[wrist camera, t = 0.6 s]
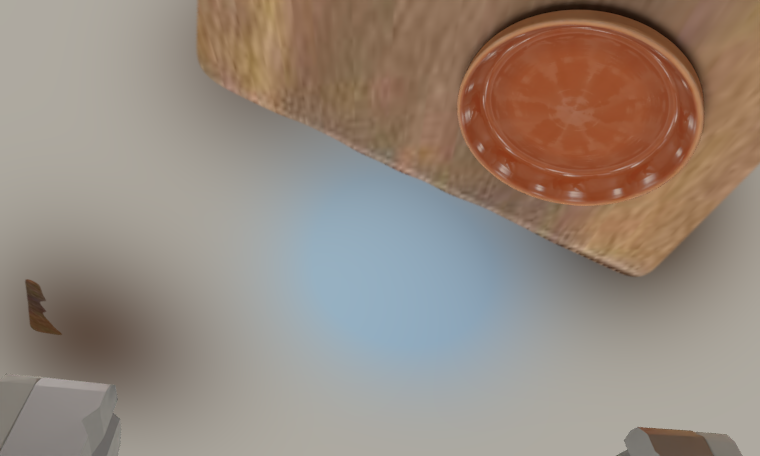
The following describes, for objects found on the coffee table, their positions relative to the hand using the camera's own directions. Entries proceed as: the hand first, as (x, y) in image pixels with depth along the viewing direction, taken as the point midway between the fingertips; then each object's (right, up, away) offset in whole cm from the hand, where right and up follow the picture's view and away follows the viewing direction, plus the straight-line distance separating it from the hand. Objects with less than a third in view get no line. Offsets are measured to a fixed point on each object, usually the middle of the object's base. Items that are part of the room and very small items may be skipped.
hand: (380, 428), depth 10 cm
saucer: (+20, +16, +54) cm, 60 cm away
